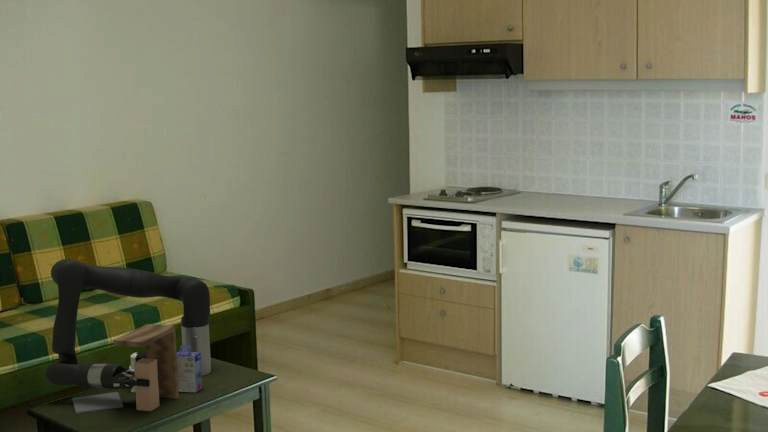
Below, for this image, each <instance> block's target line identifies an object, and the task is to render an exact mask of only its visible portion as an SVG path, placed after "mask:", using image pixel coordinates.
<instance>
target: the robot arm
mask: <svg viewBox="0 0 768 432" xmlns="http://www.w3.org/2000/svg"><path fill="white" fill-rule="evenodd" d="M50 276H51V279H52V281H53V282H54V283H55V284H56V285H57V290H58V291H57V292H58V302H57V303H58V305H57V310H56V315H55V318H54V323H53V328H52V336H51V339H52V340H51V350H52V351H51V352H52V353H53V354H55V355H58V361H56V362H53V363H50V364H49V365H47V367H46V369H45V370H44V375H45V376H44V377H45V380H46V381H47V382H48V383H50V384H51V385H53V386H54V385H55V386H84V387H94V388H98V389H106V390H119V389H120V390H129V389H130V390H131V389H132V388H133V387H138V386H142V387H149V386H150V380H149V379H138V378H135V374H134V371H132V370H129V369H127V370H126V369H125V368H124V366H123V365H120V364H110V363H91V362H90V363H88V362H87V363H86V362H85V363H83V362H82V363H78V362H79V361H78V358H77V351H76V341H77V340H76V339H77V324H78V323H77V322H78V321H77V320H78V311H79V305H80V304H79V303H80V298H81V293H82V289H83V288H91V289H94V290H95V289H96V290H99V291H103V292H106V293H110V294H113V295H118V296H123V297H131V298H141V299H143V298H144V299H145V298H156V297H157V298H160V297H162V298H168V299H172V300H176V301H180V302H182V303H183V316H182V317H181V319H180V326H181V327H180V328H181V340H182V341H181V342H182V345H183V346H191V347H190V352H201V369H202V377H204V376H207V375H209V374H210V373H211V372H212V368H211V367H212V363H211V343H210V342H211V341H210V327H209V326H210V324H209V319H210V316H211V315H210V314H211V298H210V288H209V286H208V284H207V283H205V282H204V281H203V280H201V279H199V278H197V277H193V276H171V275H164V274H160V273H156V272H152V271H148V270H147V271H146V270H142V269H136V268H130V267H121V266H120V267H117V266H103V265H99V266H98V265H94V264H93V265H92V264H89V263H88V264H87V263H85V262H81V261H77V260H74V259H71V258H64V259H63V258H62V259H60V260H58V261H56V262H55V263H54V264H53V265H52V267H51V269H50ZM182 350H188V348H182ZM159 380H160V377H159V374H158V381H159Z"/></svg>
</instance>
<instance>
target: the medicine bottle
mask: <svg viewBox="0 0 768 432" xmlns="http://www.w3.org/2000/svg"><path fill="white" fill-rule="evenodd" d="M142 358H147V355H146V351H136V352H134V353H132V354H130V365H128V370H132V371H134V362H136V361H138V360H140V359H142ZM130 392H131V393H136V390H135V387H133V388H132V389H130Z"/></svg>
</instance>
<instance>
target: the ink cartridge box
mask: <svg viewBox="0 0 768 432" xmlns="http://www.w3.org/2000/svg"><path fill="white" fill-rule="evenodd" d="M190 347H191V346H183V345H180V347H179V351H176V352H177V370H178V389H179V393H182V392H183V393H197V392H199V391H200V390H202V389H203V376H202V369H201V352H190ZM183 348H188V350H183Z"/></svg>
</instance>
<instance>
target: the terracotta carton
mask: <svg viewBox="0 0 768 432" xmlns="http://www.w3.org/2000/svg"><path fill="white" fill-rule="evenodd" d="M134 374H135V378H138V379H149V380H150V386H149V387H142V386H138V387H135V390H136V392H135V402H136V410H137V411H144V412H145V411H146V412H152V411H154V410H155V409H157V408H158V407H160V397H159V388H158V370H157V359H148V358H142V359H140V360H138V361H136V362H134Z"/></svg>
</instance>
